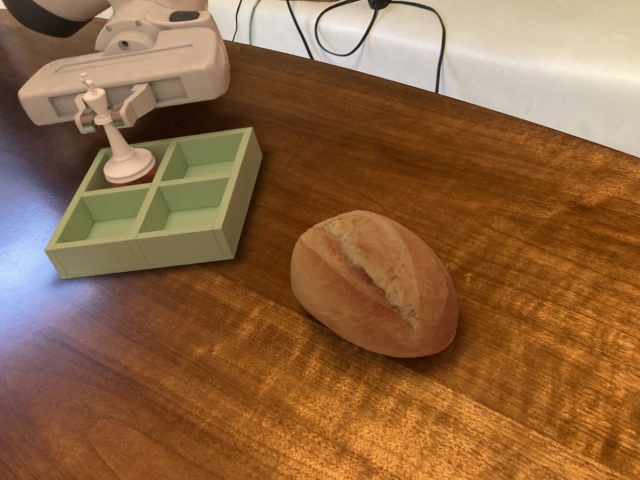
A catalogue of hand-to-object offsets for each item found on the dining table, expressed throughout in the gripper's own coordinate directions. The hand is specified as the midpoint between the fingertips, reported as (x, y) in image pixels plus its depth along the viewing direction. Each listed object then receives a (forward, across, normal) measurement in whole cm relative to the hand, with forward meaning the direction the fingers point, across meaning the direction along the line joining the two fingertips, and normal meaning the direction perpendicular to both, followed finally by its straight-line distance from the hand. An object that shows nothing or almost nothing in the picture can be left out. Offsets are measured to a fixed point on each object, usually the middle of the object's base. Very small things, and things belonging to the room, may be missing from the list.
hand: (103, 124), depth 70 cm
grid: (+3, +4, +9) cm, 10 cm away
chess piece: (-1, 0, +6) cm, 6 cm away
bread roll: (+20, +25, +9) cm, 33 cm away
